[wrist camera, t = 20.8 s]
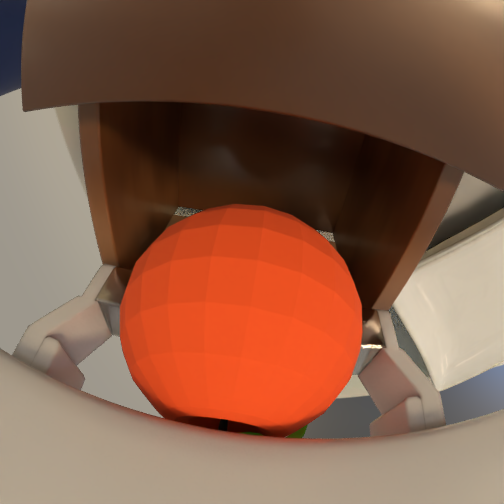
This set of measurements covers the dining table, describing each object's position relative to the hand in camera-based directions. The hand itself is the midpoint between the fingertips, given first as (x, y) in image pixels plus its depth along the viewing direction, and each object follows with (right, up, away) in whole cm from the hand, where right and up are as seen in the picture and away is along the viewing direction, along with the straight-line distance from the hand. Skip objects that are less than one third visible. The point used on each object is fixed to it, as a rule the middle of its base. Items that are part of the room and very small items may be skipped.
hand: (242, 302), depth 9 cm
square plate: (+28, -1, +11) cm, 30 cm away
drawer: (+1, +6, +7) cm, 9 cm away
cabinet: (+3, +16, -1) cm, 17 cm away
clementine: (+1, +1, +2) cm, 3 cm away
